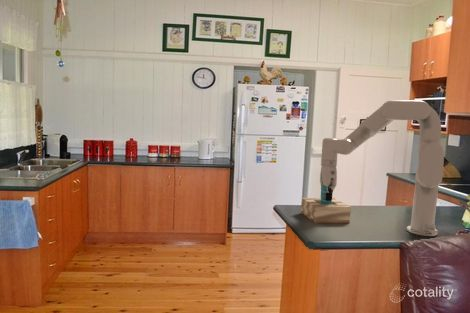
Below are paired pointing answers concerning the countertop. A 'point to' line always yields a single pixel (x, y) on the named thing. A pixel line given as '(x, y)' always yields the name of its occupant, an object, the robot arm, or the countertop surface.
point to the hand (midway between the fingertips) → (326, 198)
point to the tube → (324, 194)
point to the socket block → (325, 211)
